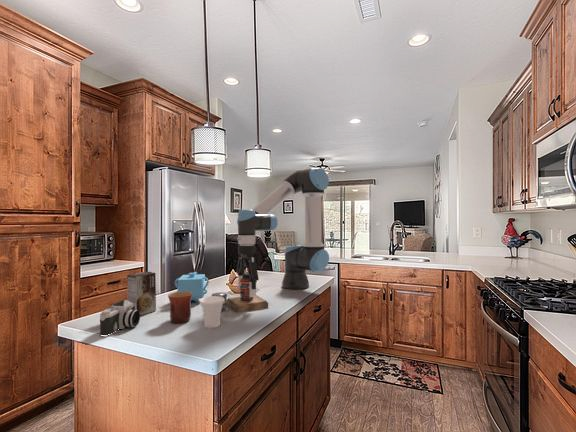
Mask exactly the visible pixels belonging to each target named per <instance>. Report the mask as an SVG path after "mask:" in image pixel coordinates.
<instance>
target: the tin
mask: <svg viewBox="0 0 576 432" xmlns="http://www.w3.org/2000/svg"><path fill="white" fill-rule="evenodd" d="M211 296H220V297H223V298H224V302H223V305H222V309H221V312H225V311H227V310H228V305H227V299H228V293H227V292H223V291H222V292H214V293H212V294H211Z"/></svg>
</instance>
